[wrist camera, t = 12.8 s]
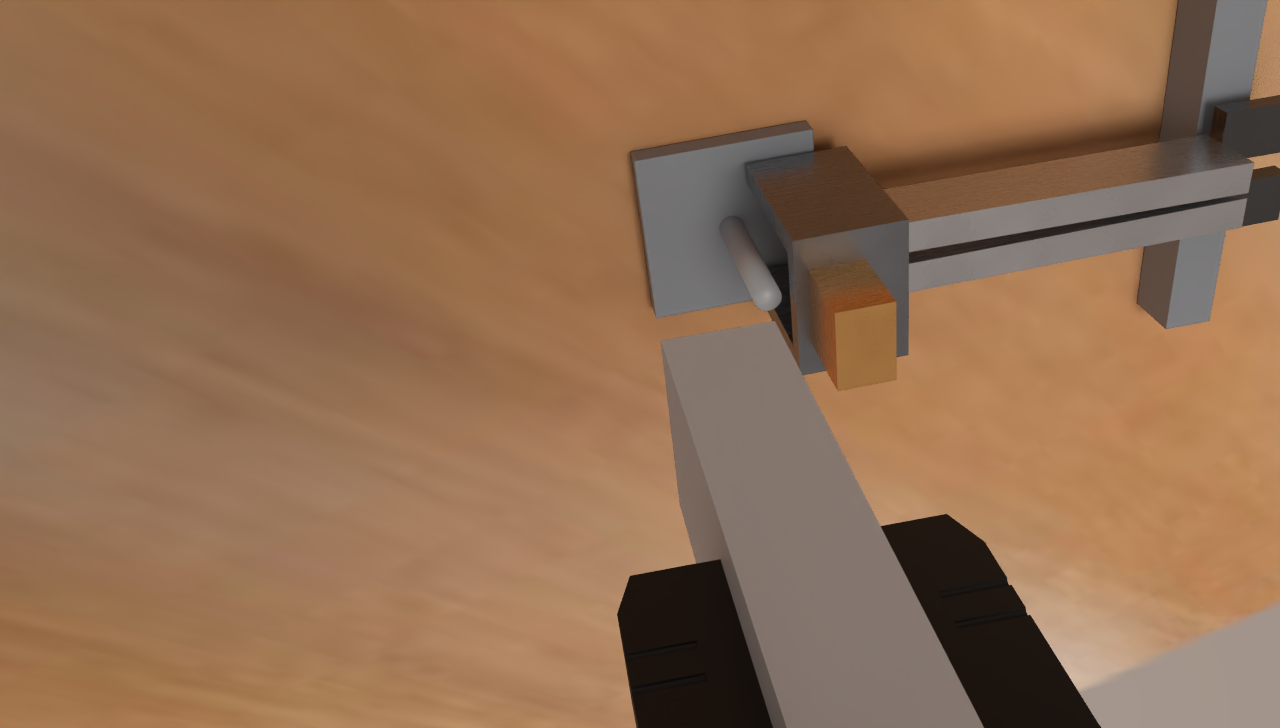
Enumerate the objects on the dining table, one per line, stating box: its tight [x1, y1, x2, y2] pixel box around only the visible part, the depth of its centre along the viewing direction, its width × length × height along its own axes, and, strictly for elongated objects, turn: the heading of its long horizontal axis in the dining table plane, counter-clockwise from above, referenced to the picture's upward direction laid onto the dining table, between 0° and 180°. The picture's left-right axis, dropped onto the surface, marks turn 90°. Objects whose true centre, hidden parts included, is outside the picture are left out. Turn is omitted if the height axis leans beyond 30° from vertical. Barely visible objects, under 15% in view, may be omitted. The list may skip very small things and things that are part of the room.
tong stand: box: [631, 0, 1267, 329], centre depth 42 cm, size 24×16×7 cm, turn 97°
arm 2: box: [883, 95, 1280, 252], centre depth 41 cm, size 19×2×3 cm, turn 97°
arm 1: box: [909, 166, 1280, 292], centre depth 42 cm, size 19×2×3 cm, turn 98°
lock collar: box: [745, 146, 909, 391], centre depth 39 cm, size 4×5×10 cm
